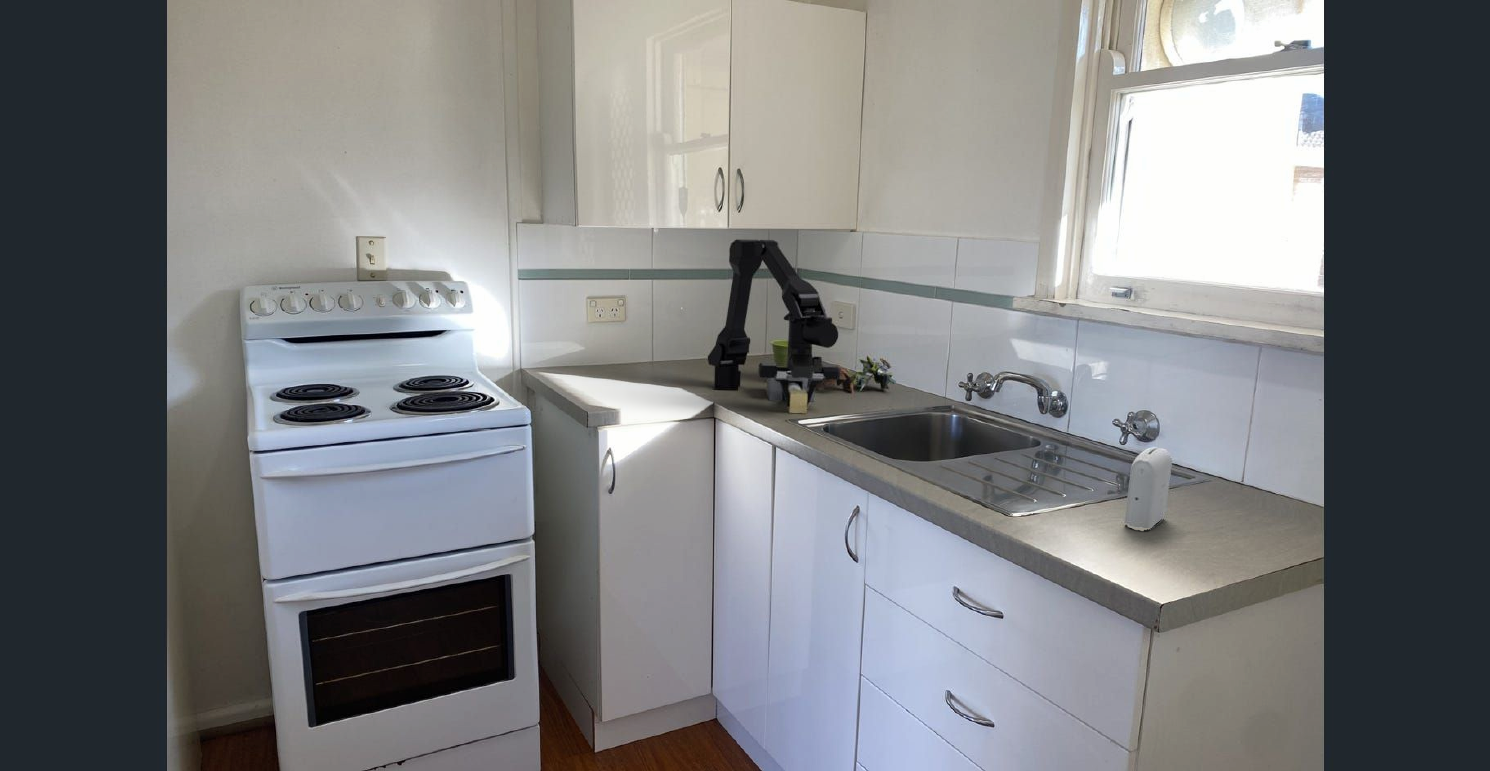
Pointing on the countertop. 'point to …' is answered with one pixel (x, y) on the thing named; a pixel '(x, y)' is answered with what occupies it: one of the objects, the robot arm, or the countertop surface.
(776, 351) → the plant pot
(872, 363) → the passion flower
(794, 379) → the housing
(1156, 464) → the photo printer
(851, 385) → the brown lumpy piece
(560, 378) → the countertop surface
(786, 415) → the countertop surface
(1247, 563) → the countertop surface
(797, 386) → the end cover
